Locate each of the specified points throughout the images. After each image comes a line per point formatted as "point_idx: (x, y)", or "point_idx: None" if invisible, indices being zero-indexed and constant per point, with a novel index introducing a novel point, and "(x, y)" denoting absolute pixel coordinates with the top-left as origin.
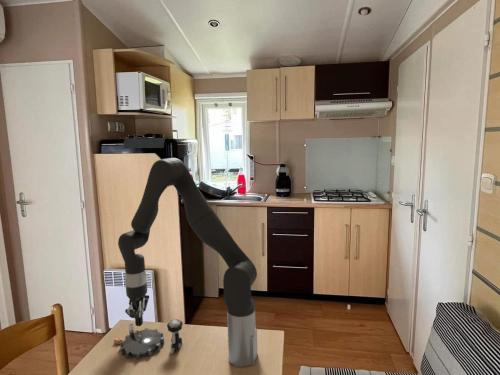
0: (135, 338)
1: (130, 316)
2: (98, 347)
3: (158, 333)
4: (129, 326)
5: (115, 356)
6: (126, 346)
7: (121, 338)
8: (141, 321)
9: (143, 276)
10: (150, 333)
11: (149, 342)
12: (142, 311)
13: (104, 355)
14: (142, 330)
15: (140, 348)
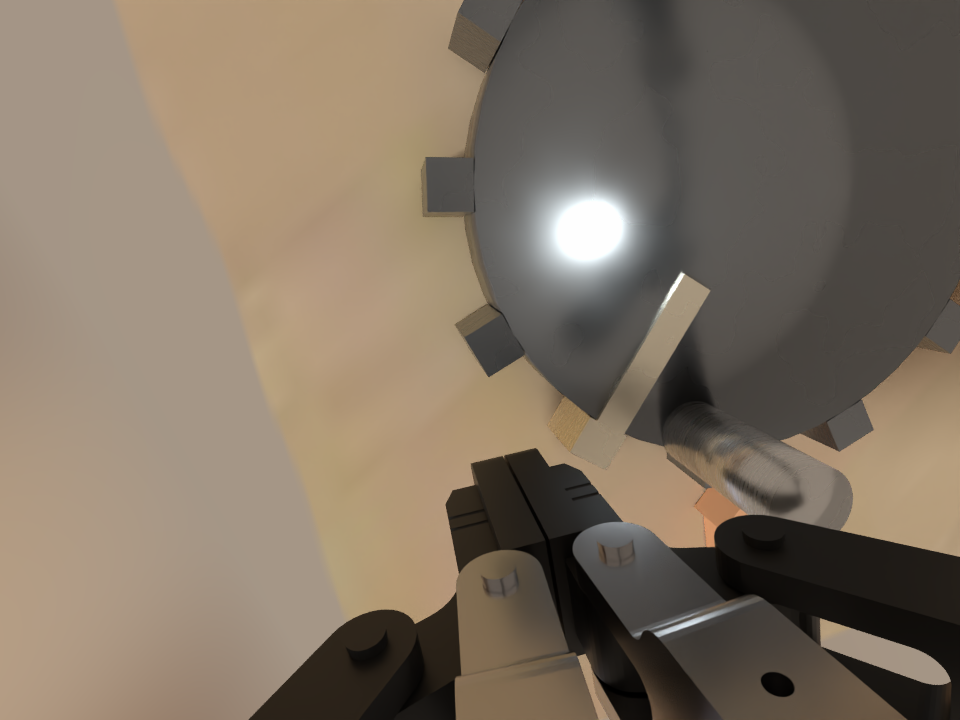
0: (747, 316)
1: (880, 673)
2: (833, 629)
3: (532, 34)
4: (844, 498)
5: (917, 358)
6: (920, 295)
7: (739, 515)
8: (519, 481)
9: None
10: (575, 183)
11: (777, 23)
12: (512, 617)
13: (922, 474)
14: (552, 370)
15: (922, 63)
